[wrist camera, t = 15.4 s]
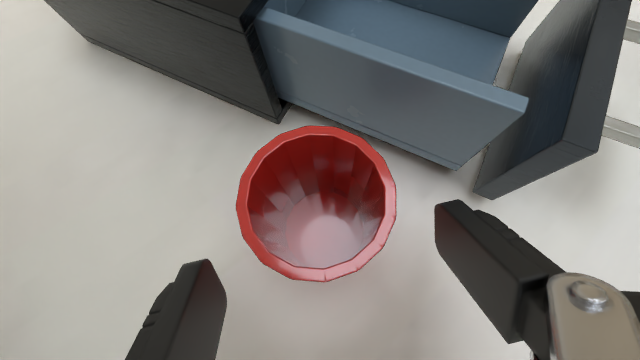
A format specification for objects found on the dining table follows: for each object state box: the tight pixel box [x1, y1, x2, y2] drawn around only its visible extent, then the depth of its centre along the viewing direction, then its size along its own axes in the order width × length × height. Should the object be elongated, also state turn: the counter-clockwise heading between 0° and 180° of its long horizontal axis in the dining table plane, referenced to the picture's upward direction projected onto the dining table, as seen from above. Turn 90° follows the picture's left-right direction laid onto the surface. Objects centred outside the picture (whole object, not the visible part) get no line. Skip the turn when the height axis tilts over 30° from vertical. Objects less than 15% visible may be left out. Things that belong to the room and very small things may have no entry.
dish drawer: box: [253, 0, 640, 200], centre depth 15 cm, size 23×12×7 cm, turn 63°
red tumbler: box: [236, 126, 396, 282], centre depth 13 cm, size 5×5×8 cm
